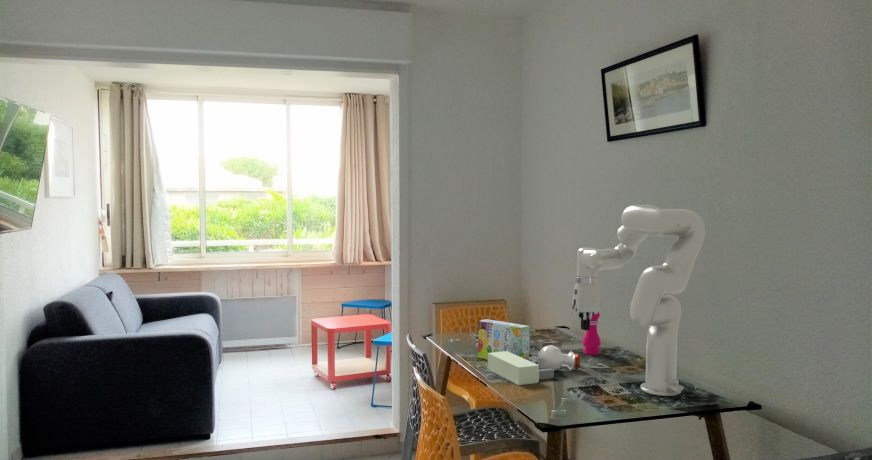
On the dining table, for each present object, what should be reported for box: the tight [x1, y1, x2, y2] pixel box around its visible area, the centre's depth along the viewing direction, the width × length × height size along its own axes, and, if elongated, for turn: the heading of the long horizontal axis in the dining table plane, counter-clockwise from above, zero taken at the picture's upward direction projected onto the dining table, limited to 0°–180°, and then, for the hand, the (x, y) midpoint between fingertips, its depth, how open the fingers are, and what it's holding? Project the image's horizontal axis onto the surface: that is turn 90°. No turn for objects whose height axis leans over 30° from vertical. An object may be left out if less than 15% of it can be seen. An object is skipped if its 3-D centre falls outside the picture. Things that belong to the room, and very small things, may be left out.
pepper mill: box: [582, 310, 602, 356], centre depth 259 cm, size 7×7×20 cm
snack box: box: [477, 319, 531, 361], centre depth 245 cm, size 21×6×15 cm, turn 47°
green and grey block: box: [487, 351, 555, 386], centre depth 227 cm, size 22×16×6 cm
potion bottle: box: [537, 344, 581, 372], centre depth 233 cm, size 9×10×15 cm
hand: (585, 329), depth 238 cm, fingers closed
